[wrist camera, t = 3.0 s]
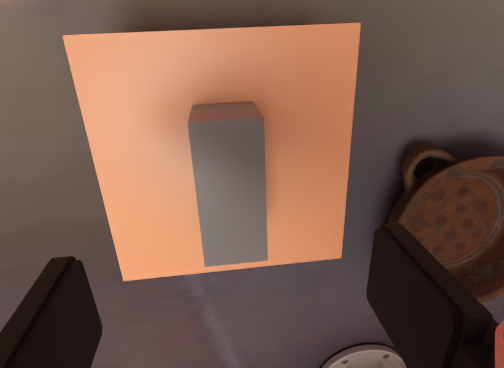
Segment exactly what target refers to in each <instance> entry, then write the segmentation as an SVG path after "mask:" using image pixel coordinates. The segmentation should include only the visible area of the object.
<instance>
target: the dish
mask: <svg viewBox="0 0 504 368" xmlns="http://www.w3.org/2000/svg"><path fill="white" fill-rule="evenodd" d="M427 157H433V158H436V160H437V161H436V165H435V167H434V168H433V169H432V170H430V171H428V172H427V173H425V174H424V175H422V176H420V177H419V178H416V177H415V175H414V169H415V167H416V165H417V164H418V163H419V162H420V161H421V160H422V159H424V158H427ZM402 176H403V181H404V186H405V187H404V191H403V193H402V195H401V196H400V198H399V199H398V201H397V202H396V204H395V205H394V207H393V209H392V211H391V214H390V217H389V220H388V223H387V224H391V223H400V224H402V225H403V226H404V227H405V228H406V229H407V230H408V231H409V232H410V233H411V234H412V235H413V236H414V237H415V238H416V239H417V240H418V241H419V242H420V243H421V244H422V245H423V246H424V247H425V248H426V249H427V250H428V251H429V252H430V253H431V254H432V255H433V256H434V257H435V258H436V259H437V260H438V261H439V262H440V263H441V264H442V265H443V266H444V267H445V268H446V269H447V270H448V271H449V272H450V273H451V274H452V275H453V276H454V277H455V278H456V279H457V280H458V281H459V282H460V283H461V284H462V285H463V286H464V287H465V288H466V289H467V290H468V291H469V292H470V293H471V294H472V295H473V296H474V297H475V298H476V299H477V300H478V301H479V302H480V303H481V304H482V303H485V302H488V301H491V300H494V299H496V298H498V297H500V296H502V295H504V156H483V157H476V158H472V159H469V160H461V161H459V160H457V159H456V158H454V157H453V156H451V155H450V154H449V153H447V152H446V151H444V150H442V149H440V148H438V147H435V146H431V145H426V146H420V147H417V148H415V149H413V150H412V151H411V152H410V153H409V154H408V155H407V157H406V158H405V160H404V162H403V166H402Z"/></svg>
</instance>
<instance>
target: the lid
mask: <svg viewBox="0 0 504 368" xmlns="http://www.w3.org/2000/svg"><path fill="white" fill-rule="evenodd" d="M360 26H361V23H341V24H317V25H294V26H270V27H247V28H224V29H200V30H177V31H153V32H130V33H106V34H83V35H62V36H63V40H64V44H65V48H66V52H67V56H68V60H69V64H70V68H71V72H72V76H73V80H74V84H75V88H76V92H77V96H78V100H79V104H80V108H81V112H82V116H83V120H84V124H85V128H86V132H87V136H88V140H89V144H90V148H91V152H92V156H93V161H94V165H95V169H96V173H97V177H98V181H99V185H100V189H101V193H102V197H103V201H104V205H105V209H106V213H107V217H108V221H109V225H110V229H111V233H112V237H113V241H114V245H115V249H116V253H117V257H118V261H119V265H120V269H121V273H122V277H123V281H129V280H138V279H148V278H157V277H167V276H176V275H186V274H195V273H205V272H214V271H224V270H233V269H243V268H252V267H262V266H271V265H281V264H290V263H300V262H309V261H319V260H328V259H338V258H341V256H342V243H343V231H344V219H345V207H346V195H347V183H348V171H349V159H350V147H351V135H352V123H353V111H354V99H355V86H356V74H357V62H358V50H359V38H360Z"/></svg>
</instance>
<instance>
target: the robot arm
mask: <svg viewBox="0 0 504 368" xmlns="http://www.w3.org/2000/svg"><path fill="white" fill-rule="evenodd" d="M367 299H368V302H369V304H370V306H371V307H372V309H373V311H374V312H375V314H376V316H377V317H378V319H379V321H380V322H381V324H382V326H383V327H384V329H385V331H386V332H387V334H388V336H389V338H390V339H391V341H392V343H393V344H394V346H395V348H396V349H397V351H398V353H399V354H400V355H399V354H398V353H397V352H396V351H394V350H393V349H391V348H388V347H386V346H382V345H373V344H367V345H359V346H355V347H352V348H349V349H346V350H344V351H342V352H340V353H338V354H336V355H335V356H333V357H332V358H331V359H329V360H328V361H327V362H326V363H325V364H324V365H323V366H322V367H321V368H406V366H407V368H504V323H501V324H500V325H499V324H498V323H497V322H496V321H495V320H494V319H493V318H492V316H493V315H492V314H491V313H490V312H489V311H488V310H487V309H486V308H485V307H484V306H483V305H482V304H481V303H480V302H479V301H478V300H477V299H476V298H475V297H474V296H473V295H472V294H471V293H470V292H469V291H468V290H467V289H466V288H465V287H464V286H463V285H462V284H461V283H460V282H459V281H458V280H457V279H456V278H455V277H454V276H453V275H452V274H451V273H450V272H449V271H448V270H447V269H446V268H445V267H444V266H443V265H442V264H441V263H440V262H439V261H438V260H437V259H436V258H435V257H434V256H433V255H432V254H431V253H430V252H429V251H428V250H427V249H426V248H425V247H424V246H423V245H422V244H421V243H420V242H419V241H418V240H417V239H416V238H415V237H414V236H413V235H412V234H411V233H410V232H409V231H408V230H407V229H406V228H405V227H404V226H403V225H402V224H400V223H391V224H382V225H381V226H380V228H379V229H377V230H376V231H375V234H374V241H373V248H372V255H371V262H370V270H369V277H368V284H367ZM101 335H102V323H101V320H100V317H99V314H98V310H97V307H96V304H95V301H94V298H93V295H92V291H91V288H90V285H89V282H88V279H87V276H86V272H85V269H84V266H83V263H82V262H81V261H80V260H76V258H75V257H73V256H68V257H58V258H52V259H51V260H50V261H49V262H48V264H47V265H46V267H45V268H44V270H43V271H42V273H41V274H40V276H39V277H38V279H37V280H36V281H35V283H34V284H33V286H32V287H31V289H30V290H29V292H28V293H27V295H26V296H25V298H24V299H23V301H22V302H21V303H20V305H19V306H18V308H17V309H16V311H15V312H14V313H13V315H12V316H11V318H10V319H9V321H8V322H7V324H6V325H5V327H4V328H3V330H2V331H1V332H0V368H90V367H91V364H92V362H93V359H94V356H95V353H96V350H97V347H98V344H99V341H100V338H101ZM400 356H401V357H400ZM402 359H403V360H402ZM403 361H404V362H403ZM405 365H406V366H405Z"/></svg>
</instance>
